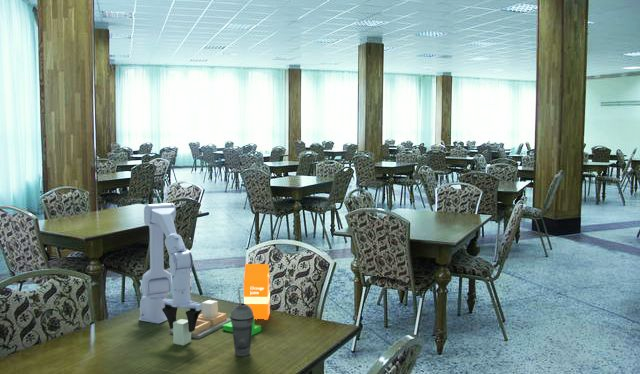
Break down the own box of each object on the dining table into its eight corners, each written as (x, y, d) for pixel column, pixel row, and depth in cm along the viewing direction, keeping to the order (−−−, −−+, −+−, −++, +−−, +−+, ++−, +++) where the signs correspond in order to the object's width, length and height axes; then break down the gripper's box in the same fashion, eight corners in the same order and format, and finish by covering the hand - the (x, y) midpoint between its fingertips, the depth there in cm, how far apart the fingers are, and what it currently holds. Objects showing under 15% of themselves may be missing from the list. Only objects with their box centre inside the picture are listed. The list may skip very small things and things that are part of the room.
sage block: (173, 343, 187) (173, 322, 187) (181, 339, 191) (180, 319, 190) (183, 345, 186) (183, 324, 185) (191, 341, 189) (190, 320, 189)
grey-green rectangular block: (202, 321, 206) (201, 302, 206) (208, 318, 210) (208, 299, 209) (211, 323, 204) (211, 304, 204) (217, 320, 208) (217, 301, 208)
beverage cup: (244, 359, 174) (243, 294, 172) (225, 354, 178) (224, 290, 176) (259, 351, 180) (258, 289, 178) (240, 347, 184) (240, 285, 182)
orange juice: (267, 319, 212) (267, 266, 210) (243, 319, 212) (243, 266, 210) (270, 313, 220) (269, 261, 218) (246, 313, 220) (246, 261, 218)
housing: (170, 333, 196) (170, 325, 196) (205, 317, 215) (205, 309, 214) (199, 338, 192) (199, 330, 191) (232, 321, 210) (232, 313, 209)
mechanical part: (261, 331, 200) (261, 308, 199) (251, 336, 195) (251, 313, 194) (233, 325, 206) (232, 303, 205) (222, 330, 200) (222, 308, 200)
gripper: (155, 289, 186) (156, 330, 187) (192, 293, 180) (192, 336, 181) (169, 284, 193) (170, 323, 194) (205, 288, 186) (206, 329, 188)
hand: (182, 329), depth 188 cm, fingers open, 7 cm apart
